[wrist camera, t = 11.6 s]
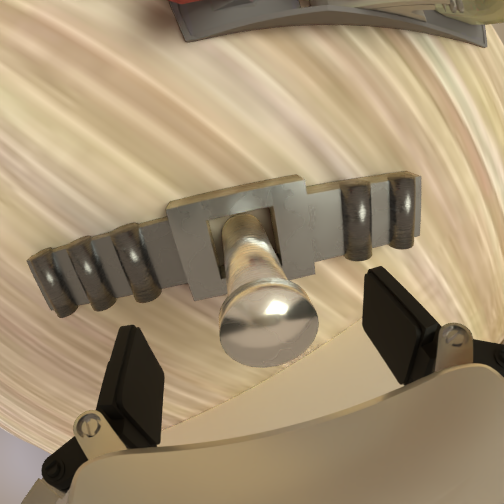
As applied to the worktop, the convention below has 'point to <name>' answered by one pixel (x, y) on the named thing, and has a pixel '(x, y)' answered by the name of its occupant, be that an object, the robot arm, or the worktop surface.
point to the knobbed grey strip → (202, 245)
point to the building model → (296, 392)
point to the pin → (261, 300)
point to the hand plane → (340, 16)
